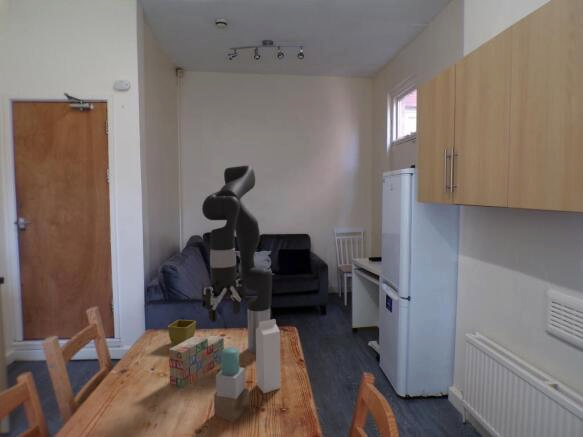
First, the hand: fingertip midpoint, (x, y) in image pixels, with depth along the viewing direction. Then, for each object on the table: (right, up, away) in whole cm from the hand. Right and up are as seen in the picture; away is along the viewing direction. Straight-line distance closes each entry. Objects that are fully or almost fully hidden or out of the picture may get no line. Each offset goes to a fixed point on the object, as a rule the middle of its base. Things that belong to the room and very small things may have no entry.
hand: (225, 317), depth 102 cm
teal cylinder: (+2, -14, -4) cm, 15 cm away
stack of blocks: (-13, -26, +20) cm, 35 cm away
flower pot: (-27, -25, +45) cm, 58 cm away
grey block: (+2, -21, -3) cm, 21 cm away
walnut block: (+3, -27, -3) cm, 27 cm away
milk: (+12, -26, +10) cm, 30 cm away
